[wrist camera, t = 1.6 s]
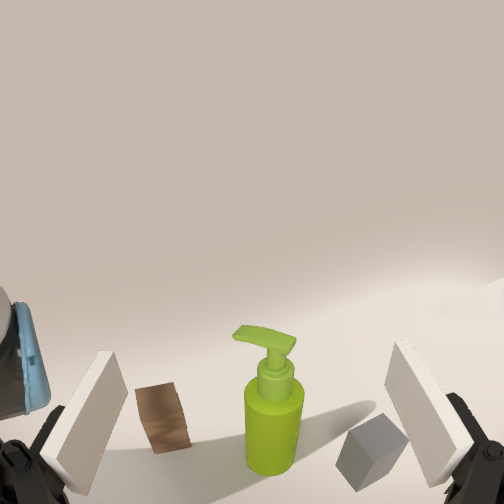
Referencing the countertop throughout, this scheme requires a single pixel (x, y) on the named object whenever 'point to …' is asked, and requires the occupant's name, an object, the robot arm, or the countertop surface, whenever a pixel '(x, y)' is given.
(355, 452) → the grey rectangular block
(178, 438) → the brown wooden block
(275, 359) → the soap dispenser
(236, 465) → the countertop surface
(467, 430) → the robot arm
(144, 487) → the countertop surface
